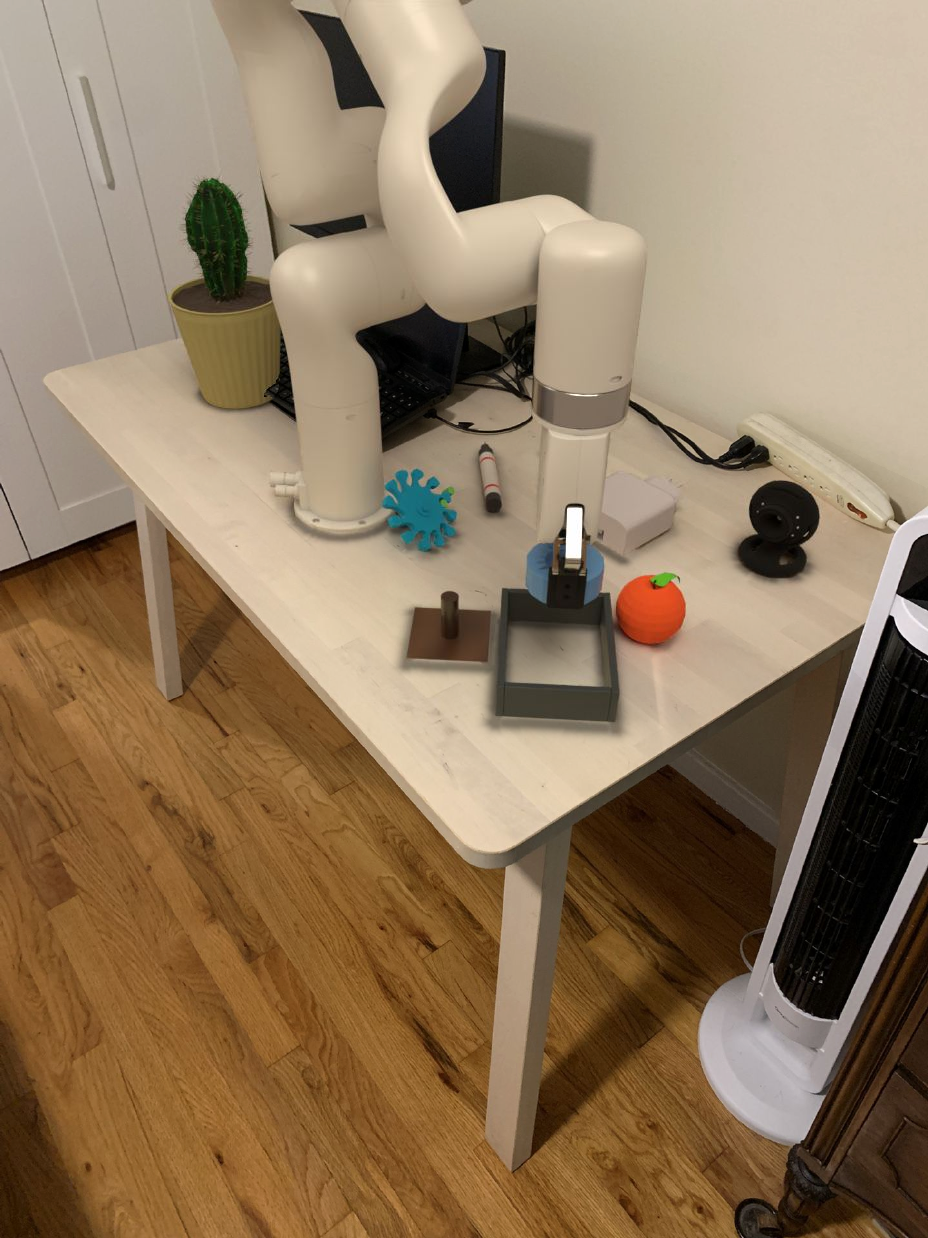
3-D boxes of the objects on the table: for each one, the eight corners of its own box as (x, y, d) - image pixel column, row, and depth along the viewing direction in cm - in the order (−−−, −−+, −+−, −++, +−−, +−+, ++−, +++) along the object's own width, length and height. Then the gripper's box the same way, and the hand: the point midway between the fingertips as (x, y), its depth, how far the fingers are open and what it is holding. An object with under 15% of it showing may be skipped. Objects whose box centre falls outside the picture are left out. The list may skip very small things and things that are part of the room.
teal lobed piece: (417, 559, 100) (374, 479, 99) (388, 576, 104) (346, 500, 104) (479, 528, 107) (439, 453, 107) (449, 545, 112) (410, 474, 111)
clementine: (646, 601, 97) (656, 546, 93) (700, 632, 93) (712, 577, 89) (597, 633, 93) (605, 578, 88) (651, 667, 89) (662, 612, 85)
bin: (495, 721, 83) (496, 686, 80) (500, 621, 94) (501, 587, 91) (614, 727, 83) (619, 692, 80) (605, 626, 94) (610, 592, 91)
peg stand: (406, 664, 89) (404, 620, 86) (415, 612, 95) (413, 570, 92) (487, 668, 89) (488, 624, 85) (490, 616, 95) (492, 573, 91)
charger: (702, 513, 110) (621, 561, 103) (644, 483, 116) (563, 526, 108) (709, 479, 107) (627, 526, 100) (649, 450, 113) (566, 492, 105)
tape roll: (525, 605, 79) (526, 581, 77) (526, 560, 84) (527, 537, 83) (603, 608, 79) (606, 585, 77) (599, 563, 84) (602, 539, 82)
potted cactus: (207, 366, 142) (168, 157, 122) (303, 371, 140) (280, 160, 121) (172, 412, 130) (124, 188, 111) (278, 418, 129) (247, 192, 109)
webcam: (724, 560, 103) (742, 484, 97) (754, 532, 107) (774, 458, 101) (788, 588, 99) (811, 511, 93) (817, 558, 103) (841, 482, 97)
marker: (501, 512, 110) (502, 498, 109) (485, 512, 110) (486, 498, 109) (491, 449, 122) (491, 436, 121) (477, 450, 122) (477, 436, 121)
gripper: (532, 349, 77) (523, 525, 88) (531, 449, 63) (520, 641, 75) (621, 351, 76) (600, 528, 88) (638, 453, 63) (611, 645, 74)
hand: (563, 578), depth 81 cm, fingers closed on tape roll, 6 cm apart
